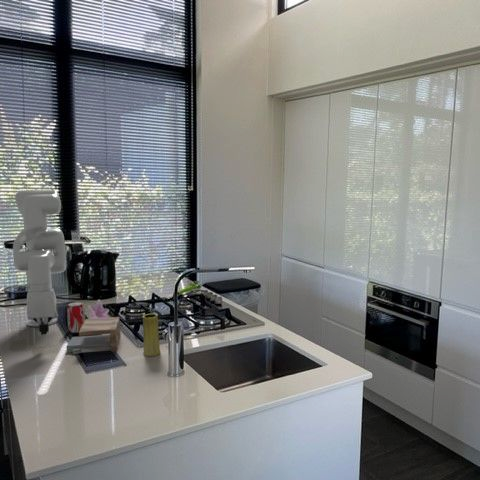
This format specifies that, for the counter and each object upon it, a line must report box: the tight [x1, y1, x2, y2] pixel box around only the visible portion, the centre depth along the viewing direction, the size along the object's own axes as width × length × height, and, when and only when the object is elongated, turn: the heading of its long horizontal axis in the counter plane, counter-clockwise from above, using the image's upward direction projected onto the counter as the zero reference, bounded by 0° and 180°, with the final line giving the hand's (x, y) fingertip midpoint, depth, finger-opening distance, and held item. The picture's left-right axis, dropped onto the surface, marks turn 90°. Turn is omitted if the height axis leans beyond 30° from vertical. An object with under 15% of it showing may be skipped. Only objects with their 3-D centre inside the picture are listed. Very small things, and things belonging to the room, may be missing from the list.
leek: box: [163, 280, 203, 300], centre depth 252 cm, size 6×7×30 cm
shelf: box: [72, 316, 121, 355], centre depth 175 cm, size 16×16×8 cm
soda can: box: [66, 301, 86, 334], centre depth 192 cm, size 7×7×12 cm
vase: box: [142, 313, 161, 357], centre depth 165 cm, size 6×6×14 cm
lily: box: [87, 299, 110, 319], centre depth 203 cm, size 12×12×10 cm
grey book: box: [66, 334, 111, 353], centre depth 174 cm, size 10×16×3 cm, turn 98°
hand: (44, 333), depth 172 cm, fingers closed
